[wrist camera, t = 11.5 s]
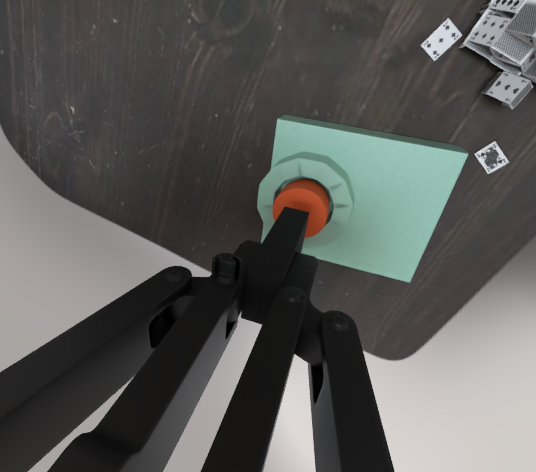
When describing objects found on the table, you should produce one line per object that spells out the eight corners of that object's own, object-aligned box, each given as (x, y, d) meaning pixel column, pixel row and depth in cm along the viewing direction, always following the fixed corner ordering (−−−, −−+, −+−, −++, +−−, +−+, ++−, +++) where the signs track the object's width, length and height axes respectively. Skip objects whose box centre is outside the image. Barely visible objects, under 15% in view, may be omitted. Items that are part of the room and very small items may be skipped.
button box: (265, 231, 28) (250, 254, 24) (281, 113, 23) (266, 122, 19) (407, 267, 26) (412, 297, 22) (459, 145, 20) (477, 161, 17)
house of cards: (378, 108, 21) (382, 128, 14) (483, -50, 16) (559, -127, 10) (494, 177, 21) (550, 228, 14) (632, 39, 16) (808, 21, 10)
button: (275, 220, 23) (268, 231, 21) (282, 174, 21) (275, 182, 20) (323, 232, 22) (320, 244, 21) (335, 185, 20) (332, 195, 19)
